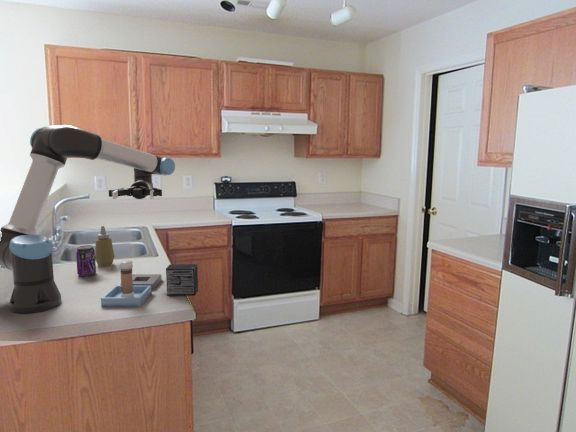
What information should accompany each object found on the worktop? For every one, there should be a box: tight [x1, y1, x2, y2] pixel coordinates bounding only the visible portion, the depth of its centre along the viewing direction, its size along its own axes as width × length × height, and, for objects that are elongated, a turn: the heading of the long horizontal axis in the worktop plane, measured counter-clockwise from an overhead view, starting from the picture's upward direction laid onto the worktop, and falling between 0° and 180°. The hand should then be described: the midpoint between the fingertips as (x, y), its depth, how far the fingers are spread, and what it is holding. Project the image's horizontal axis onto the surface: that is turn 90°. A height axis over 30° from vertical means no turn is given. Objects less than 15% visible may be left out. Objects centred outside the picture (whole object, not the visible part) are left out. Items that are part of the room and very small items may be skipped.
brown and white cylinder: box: [119, 259, 134, 297], centre depth 149 cm, size 4×4×13 cm
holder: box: [119, 273, 162, 291], centre depth 165 cm, size 12×12×2 cm
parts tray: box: [100, 285, 152, 308], centre depth 149 cm, size 13×13×3 cm
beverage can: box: [75, 244, 97, 277], centre depth 177 cm, size 7×7×12 cm
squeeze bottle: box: [94, 225, 115, 268], centre depth 190 cm, size 8×8×18 cm
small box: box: [165, 263, 199, 297], centre depth 156 cm, size 11×6×10 cm, turn 92°
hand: (132, 195), depth 161 cm, fingers open, 13 cm apart
